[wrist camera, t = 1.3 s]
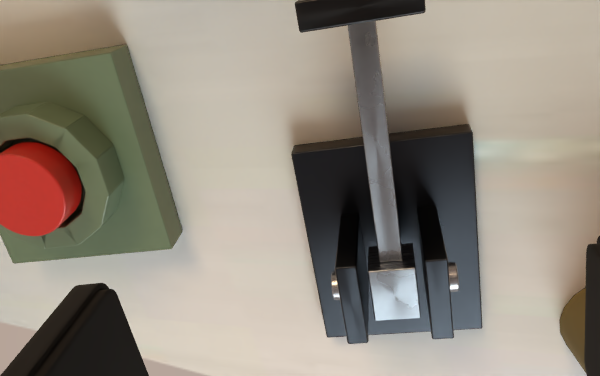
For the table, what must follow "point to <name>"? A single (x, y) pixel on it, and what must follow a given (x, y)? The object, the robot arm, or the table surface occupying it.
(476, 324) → the bracket
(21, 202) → the button
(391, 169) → the lever
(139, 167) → the control block
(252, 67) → the table surface
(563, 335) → the cork
